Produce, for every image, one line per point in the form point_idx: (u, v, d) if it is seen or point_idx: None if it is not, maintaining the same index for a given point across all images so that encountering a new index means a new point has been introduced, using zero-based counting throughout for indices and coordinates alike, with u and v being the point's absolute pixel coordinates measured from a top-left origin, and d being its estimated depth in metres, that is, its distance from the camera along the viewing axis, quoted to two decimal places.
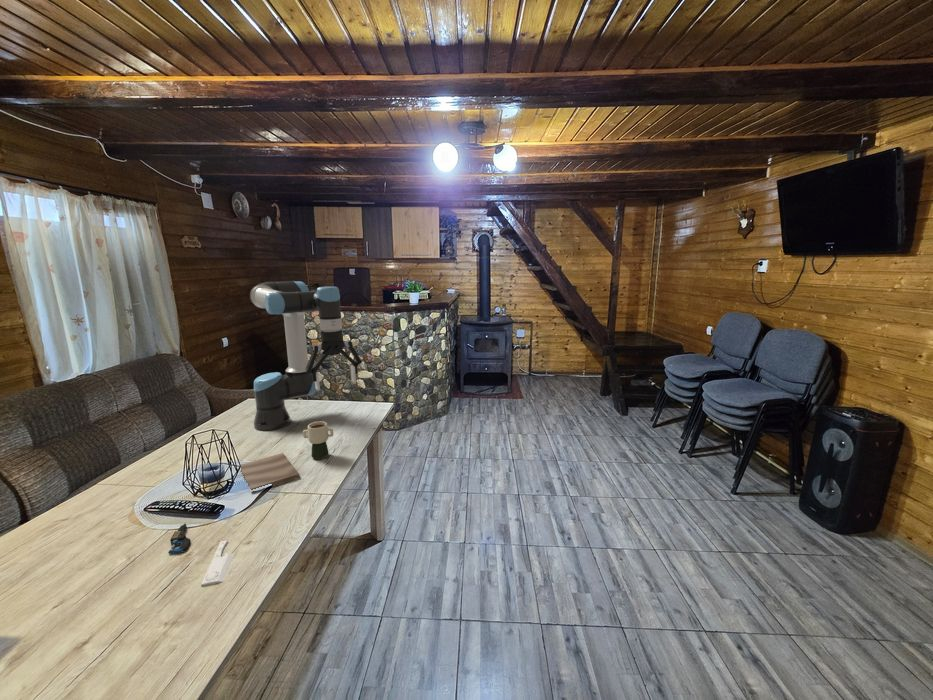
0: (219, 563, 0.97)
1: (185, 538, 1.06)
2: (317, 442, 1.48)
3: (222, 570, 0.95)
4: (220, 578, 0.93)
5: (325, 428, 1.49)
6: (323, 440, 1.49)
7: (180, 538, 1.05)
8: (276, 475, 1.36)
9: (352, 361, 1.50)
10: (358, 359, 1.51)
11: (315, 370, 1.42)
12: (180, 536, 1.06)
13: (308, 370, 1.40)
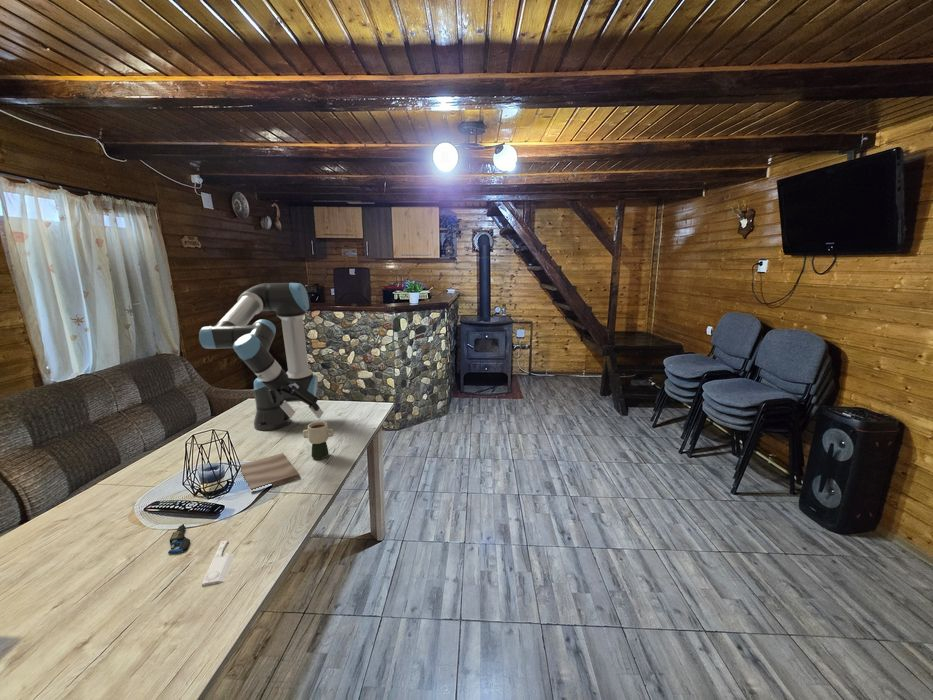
0: (220, 563, 0.97)
1: (184, 538, 1.06)
2: (317, 442, 1.48)
3: (223, 570, 0.95)
4: (220, 578, 0.93)
5: (325, 428, 1.49)
6: (323, 440, 1.49)
7: (179, 538, 1.05)
8: (276, 475, 1.36)
9: (305, 402, 1.37)
10: (309, 401, 1.36)
11: (277, 404, 1.43)
12: (179, 536, 1.06)
13: (272, 403, 1.44)
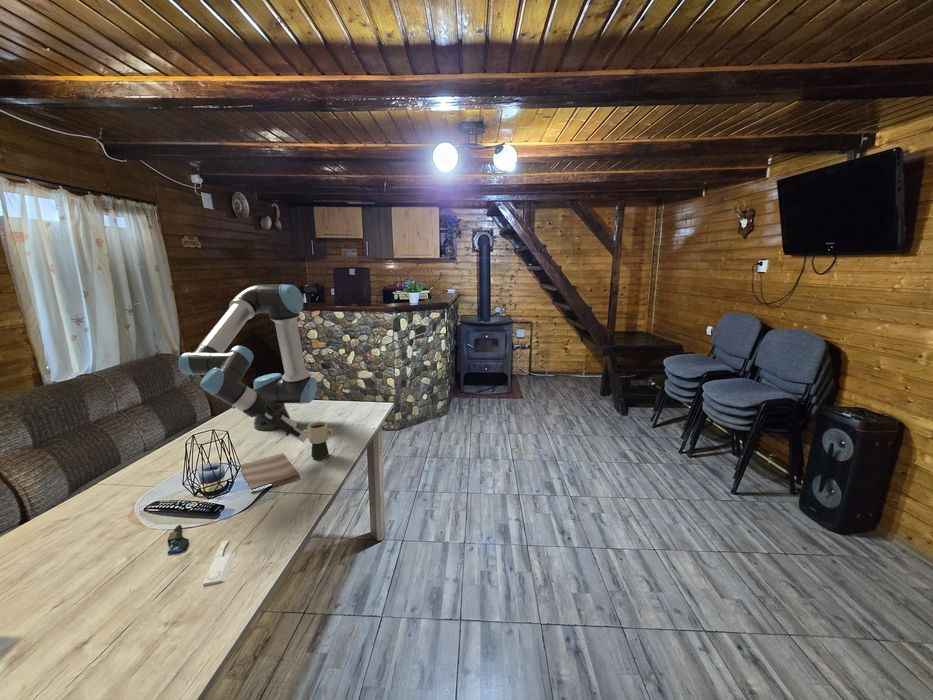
0: (221, 563, 0.97)
1: (183, 538, 1.06)
2: (317, 442, 1.48)
3: (224, 570, 0.95)
4: (222, 578, 0.93)
5: (325, 428, 1.49)
6: (323, 440, 1.49)
7: (178, 538, 1.05)
8: (276, 475, 1.36)
9: None
10: (284, 431, 1.33)
11: None
12: (178, 537, 1.06)
13: None
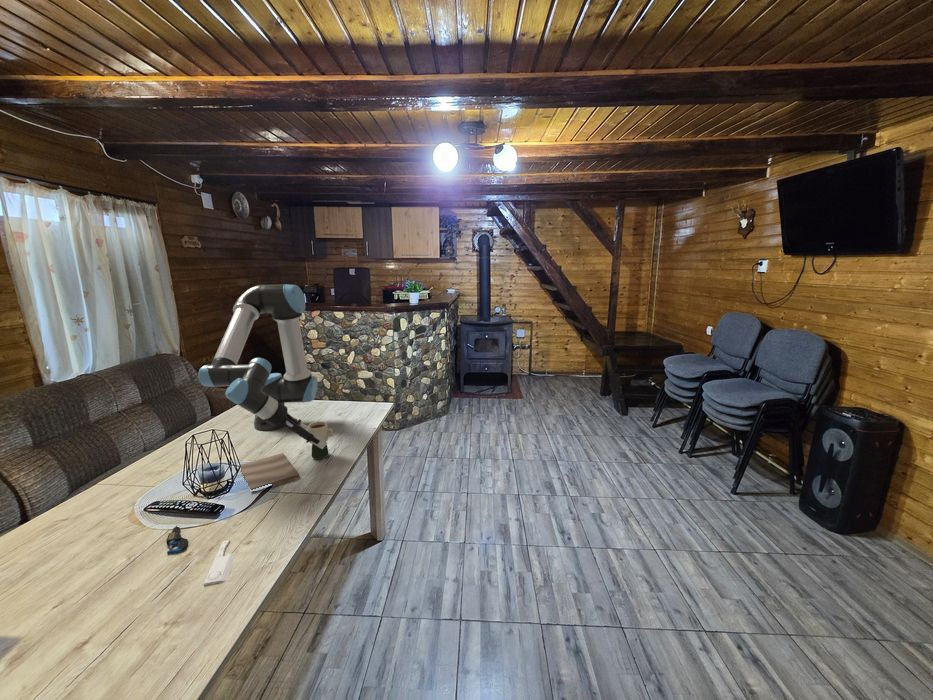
0: (221, 562, 0.98)
1: (182, 538, 1.06)
2: None
3: (224, 570, 0.95)
4: (222, 578, 0.93)
5: (325, 428, 1.49)
6: None
7: (177, 539, 1.05)
8: (276, 475, 1.36)
9: None
10: (304, 438, 1.38)
11: None
12: (176, 537, 1.06)
13: None
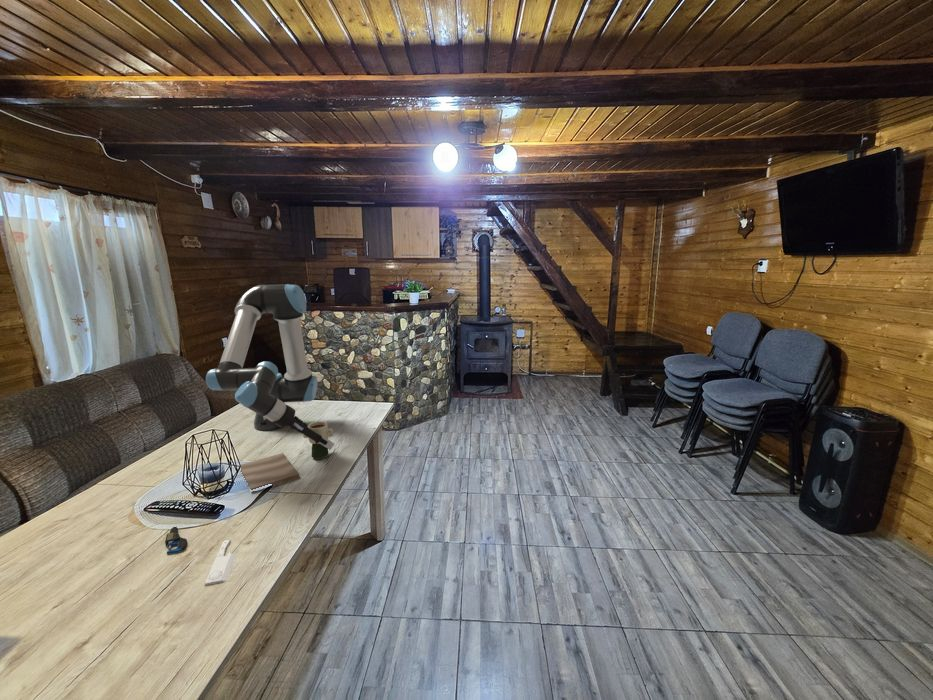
0: (222, 562, 0.98)
1: (181, 538, 1.06)
2: None
3: (225, 569, 0.95)
4: (223, 578, 0.93)
5: (325, 428, 1.49)
6: None
7: (175, 539, 1.05)
8: (276, 475, 1.36)
9: None
10: None
11: None
12: (175, 537, 1.06)
13: None
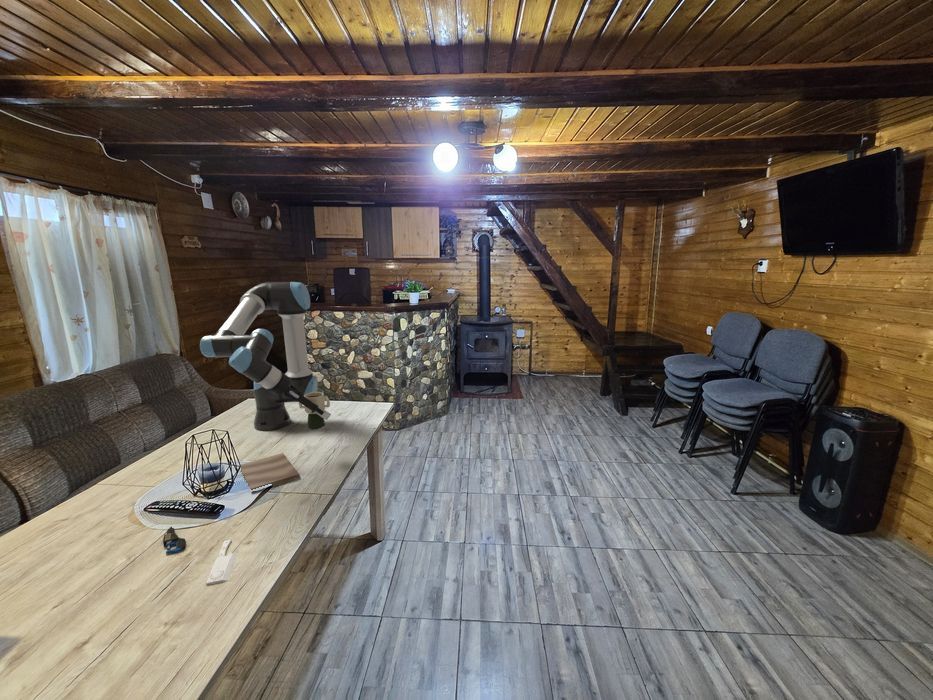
0: (223, 562, 0.98)
1: (179, 538, 1.06)
2: (313, 412, 1.45)
3: (226, 569, 0.96)
4: (224, 577, 0.93)
5: (321, 398, 1.46)
6: None
7: (174, 539, 1.05)
8: (276, 475, 1.36)
9: None
10: None
11: None
12: (173, 537, 1.05)
13: None
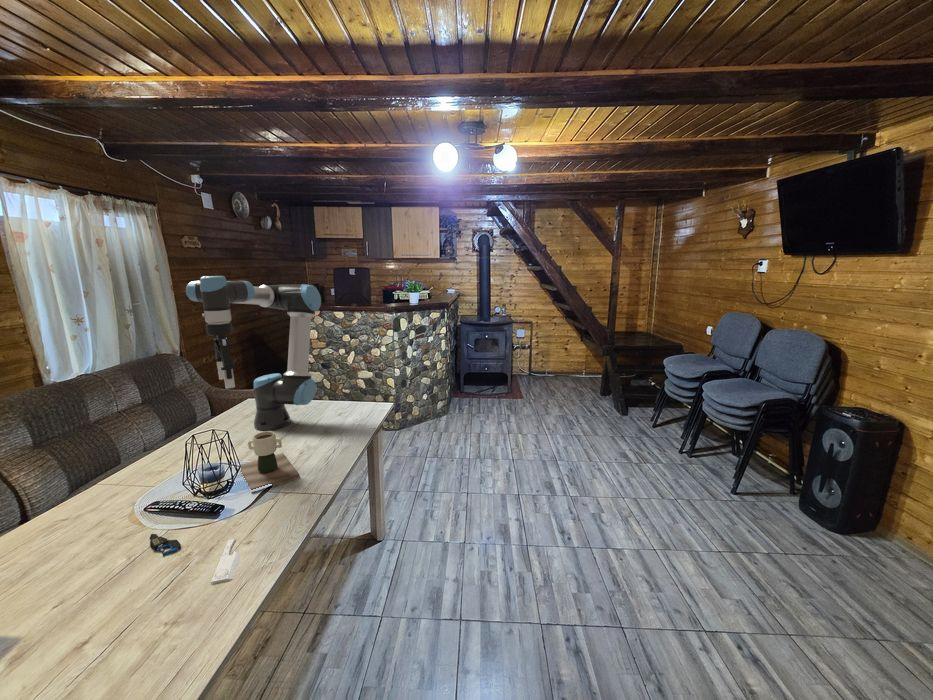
0: (228, 561, 0.98)
1: (169, 541, 1.05)
2: (263, 454, 1.35)
3: (231, 568, 0.96)
4: (229, 576, 0.93)
5: (272, 439, 1.36)
6: (270, 452, 1.36)
7: (164, 542, 1.04)
8: (276, 475, 1.36)
9: (222, 363, 1.31)
10: (223, 363, 1.29)
11: (216, 358, 1.42)
12: (163, 540, 1.04)
13: (215, 356, 1.43)
